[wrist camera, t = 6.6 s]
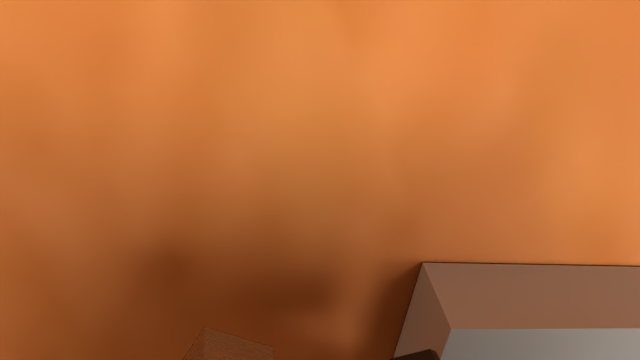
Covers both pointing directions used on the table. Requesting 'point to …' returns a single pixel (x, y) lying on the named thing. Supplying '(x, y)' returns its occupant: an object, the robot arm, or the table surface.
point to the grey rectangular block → (524, 312)
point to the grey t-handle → (227, 348)
